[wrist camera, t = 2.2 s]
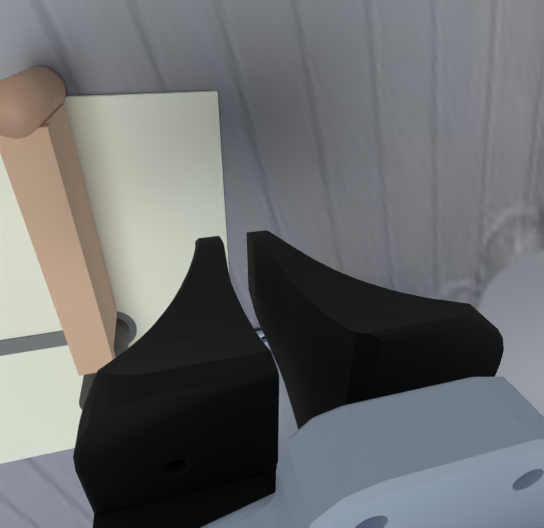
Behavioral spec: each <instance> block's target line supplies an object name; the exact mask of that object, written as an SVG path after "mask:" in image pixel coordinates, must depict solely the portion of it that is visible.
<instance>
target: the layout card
mask: <svg viewBox="0 0 544 528" xmlns="http://www.w3.org/2000/svg"><path fill="white" fill-rule="evenodd" d="M62 104H64V106H65V110H66V114H67V118H68V122H69V126H70V130H71V134H72V138H73V142H74V146H75V150H76V154H77V158H78V162H79V165H80V169H81V173H82V177H83V181H84V185H85V189H86V193H87V197H88V201H89V205H90V209H91V213H92V217H93V221H94V225H95V228H96V232H97V236H98V240H99V244H100V248H101V252H102V256H103V260H104V264H105V268H106V272H107V276H108V280H109V284H110V288H111V291H112V295H113V299H114V303H115V307H116V311H117V318H118V319H121V320H123V321H124V322H126V323H127V325H128V326H129V346H128V348H129V347H130V346H132V345H133V344H134V343H135V342H136V341H137V340H139V339H140V338H141V337H142V336H143V335H144V334H145V333H146V332H147V331H148V330H149V329H150V328H151V327H152V326H153V325H154V324H155V322H156V321H157V320H158V319H159V318H160V316H161V315H162V314H163V313H164V311H165V310H166V309H167V307H168V306H169V305H170V303H171V302H172V300H173V299H174V297H175V295H176V294H177V292H178V290H179V289H180V287H181V285H182V283H183V281H184V279H185V277H186V275H187V272H188V270H189V267H190V264H191V262H192V259H193V255H194V251H195V241H196V240H197V239H198V238H204V237H213V236H220V238H221V239H222V241H223V243H224V247H225V253H226V259H227V265H228V250H227V234H226V218H225V202H224V187H223V171H222V155H221V139H220V124H219V108H218V92H217V91H196V92H169V93H141V94H113V95H85V96H65V100H64V102H63V103H62ZM228 271H229V265H228ZM83 377H84V375H81V376H79V374H78V372H77V369H76V366H75V363H74V360H73V358H72V355H71V352H70V349H69V346H68V343H67V341H66V338H65V335H64V332H63V329H62V326H61V324H60V321H59V318H58V315H57V312H56V309H55V307H54V304H53V301H52V298H51V295H50V293H49V290H48V287H47V284H46V281H45V278H44V276H43V273H42V270H41V267H40V264H39V261H38V259H37V256H36V253H35V250H34V247H33V245H32V242H31V239H30V236H29V233H28V230H27V228H26V225H25V222H24V219H23V216H22V213H21V211H20V208H19V205H18V202H17V199H16V196H15V194H14V191H13V188H12V185H11V182H10V180H9V177H8V174H7V171H6V168H5V165H4V163H3V160H2V157H1V154H0V464H1V463H6V462H11V461H15V460H20V459H25V458H29V457H34V456H39V455H43V454H48V453H53V452H57V451H62V450H67V449H71V448H75V444H76V438H77V432H78V426H79V421H80V417H81V413H82V409H81V408H80V406H79V398H80V393H81V387H82V382H83Z"/></svg>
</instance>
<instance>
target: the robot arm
mask: <svg viewBox="0 0 544 528" xmlns="http://www.w3.org/2000/svg"><path fill="white" fill-rule="evenodd" d="M247 254H248V284H249V292H250V296H251V300H252V303H253V307H254V310H255V314H256V317H257V319H258V321H259V324H260V326H261V329H262V331H255V330H254V328H253V327H252V325H251V323H250V321H249V320H248V318H247V316H246V315H245V313H244V311H243V309H242V307H241V304H240V302H239V300H238V298H237V296H236V294H235V291H234V289H233V286H232V284H231V281H230V277H229V271H228V265H227V259H226V253H225V247H224V243H223V241H222V239H221V238H220V236H213V237H204V238H198V239H197V240H196V241H195V251H194V255H193V259H192V262H191V264H190V267H189V270H188V272H187V275H186V277H185V279H184V281H183V283H182V285H181V287H180V289H179V290H178V292H177V294H176V295H175V297H174V299H173V300H172V302H171V303H170V305H169V306H168V307H167V309H166V310H165V311H164V313H163V314H162V315H161V316H160V318H159V319H158V320H157V321H156V322H155V324H154V325H153V326H152V327H151V328H150V329H149V330H148V331H147V332H146V333H145V334H144V335H143V336H142V337H141V338H140V339H139V340H137V341H136V342H135V343H134V344H133V345H132V346H130V347H129V348H128V349H127V350H125V351H124V352H123V353H121V354H120V355H119V356H117V357H116V358H114V359H113V360H112V361H110V362H109V363H108V364H106V365H105V366H103V367H102V368H100V369H99V370H98V371H97V373H96V375H95V377H94V380H93V382H92V385H91V387H90V390H89V392H88V395H87V398H86V401H85V404H84V407H83V410H82V413H81V417H80V421H79V426H78V432H77V438H76V444H75V450H74V456H73V459H74V464H75V470H76V473H77V475H78V477H79V480H80V482H81V484H82V487H83V489H84V491H85V493H86V496H87V498H88V500H89V503H90V505H91V507H92V509H93V512H94V522H93V528H544V417H543V416H542V415H541V414H540V413H539V412H538V411H537V410H536V409H535V408H534V407H533V406H532V405H531V404H530V403H529V402H528V401H527V400H526V399H525V398H524V397H523V396H522V394H521V393H520V392H519V391H518V390H517V389H516V388H514V387H513V386H512V385H511V384H510V383H509V382H508V381H507V380H506V379H505V378H504V377H495V375H496V372H497V370H498V367H499V365H500V362H501V358H502V354H503V350H504V349H503V338H502V336H501V334H500V332H499V330H498V329H497V328H496V327H495V326H494V325H492V323H490V322H489V321H488V320H487V319H486V318H485V317H484V316H483V315H481V314H480V313H479V312H478V311H477V310H476V309H475V308H474V307H473V306H471V305H470V304H467V303H459V302H452V301H445V300H437V299H430V298H424V297H420V296H415V295H410V294H405V293H401V292H397V291H393V290H389V289H386V288H382V287H379V286H376V285H373V284H369V283H366V282H363V281H361V280H358V279H355V278H353V277H350V276H348V275H345V274H343V273H340V272H338V271H336V270H334V269H332V268H330V267H328V266H326V265H324V264H322V263H320V262H318V261H316V260H314V259H312V258H311V257H309V256H307V255H305V254H304V253H302V252H300V251H299V250H297V249H296V248H294V247H292V246H291V245H289V244H288V243H286V242H285V241H283V240H282V239H280V238H279V237H277V236H275V235H274V234H272V233H271V232H269V231H267V230H265V231H257V232H248V233H247ZM264 336H265V338H264V339H261V338H262V337H264ZM278 457H279V461H278ZM276 469H277V476H276Z"/></svg>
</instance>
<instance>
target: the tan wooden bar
mask: <svg viewBox="0 0 544 528" xmlns="http://www.w3.org/2000/svg"><path fill="white" fill-rule="evenodd" d="M65 96H66V90H65V86H64V83H63V81H62V80H61V78H60V77H59V76H58V75H57V74H56V73H55V72H53V71H52V70H50V69H48V68H45V67H41V66H36V67H31V68H29V69H27V70H24V71H22V72H19V73H17V74H15V75H12V76H10V77H8V78H5V79H3V80H0V154H1V157H2V160H3V163H4V165H5V168H6V171H7V174H8V177H9V180H10V182H11V185H12V188H13V191H14V194H15V196H16V199H17V202H18V205H19V208H20V211H21V213H22V216H23V219H24V222H25V225H26V228H27V230H28V233H29V236H30V239H31V242H32V245H33V247H34V250H35V253H36V256H37V259H38V261H39V264H40V267H41V270H42V273H43V276H44V278H45V281H46V284H47V287H48V290H49V293H50V295H51V298H52V301H53V304H54V307H55V309H56V312H57V315H58V318H59V321H60V324H61V326H62V329H63V332H64V335H65V338H66V341H67V343H68V346H69V349H70V352H71V355H72V358H73V360H74V363H75V366H76V369H77V372H78V374H79V376H81V375H86V374H92V373H97V371H98V370H99V369H100V368H102V367H103V366H105V365H106V364H108V363H109V362H110V361H112V360H113V359H114V358H116V357H115V353H114V349H113V348H114V339H115V330H116V320H117V311H116V307H115V303H114V299H113V295H112V291H111V288H110V284H109V280H108V276H107V272H106V268H105V264H104V260H103V256H102V252H101V248H100V244H99V240H98V236H97V232H96V228H95V225H94V221H93V217H92V213H91V209H90V205H89V201H88V197H87V193H86V189H85V185H84V181H83V177H82V173H81V169H80V165H79V162H78V158H77V154H76V150H75V146H74V142H73V138H72V134H71V130H70V126H69V122H68V118H67V114H66V110H65V106H64V104H62V103H63V102H64V100H65Z"/></svg>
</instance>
